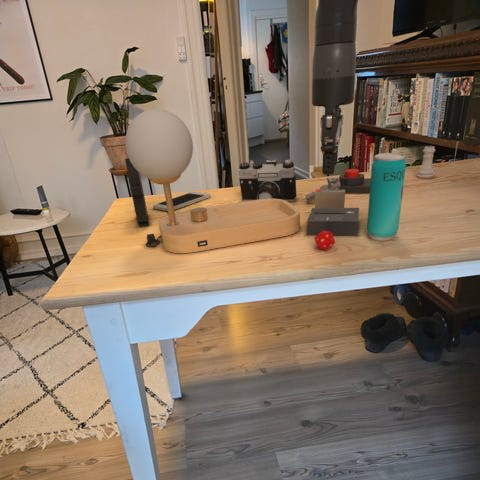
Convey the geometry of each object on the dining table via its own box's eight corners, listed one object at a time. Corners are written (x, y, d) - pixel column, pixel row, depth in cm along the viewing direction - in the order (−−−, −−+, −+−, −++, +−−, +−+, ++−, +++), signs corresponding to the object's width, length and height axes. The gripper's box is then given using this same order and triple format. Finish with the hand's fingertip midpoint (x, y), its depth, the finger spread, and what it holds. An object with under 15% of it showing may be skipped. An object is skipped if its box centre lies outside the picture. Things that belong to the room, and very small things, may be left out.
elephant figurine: (306, 197, 109) (339, 183, 106) (313, 217, 107) (346, 203, 105) (298, 180, 99) (334, 164, 97) (305, 201, 98) (342, 185, 95)
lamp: (280, 211, 99) (276, 93, 86) (308, 233, 85) (308, 95, 72) (143, 233, 94) (117, 110, 80) (148, 261, 79) (117, 116, 66)
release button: (358, 175, 111) (359, 168, 110) (358, 178, 108) (358, 171, 107) (345, 175, 112) (345, 169, 111) (344, 179, 109) (344, 172, 108)
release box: (377, 184, 114) (378, 171, 112) (378, 192, 106) (379, 179, 104) (339, 185, 116) (340, 172, 114) (337, 193, 109) (338, 180, 107)
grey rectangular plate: (344, 211, 86) (345, 188, 83) (343, 213, 84) (344, 190, 82) (315, 211, 87) (315, 188, 85) (314, 213, 86) (314, 190, 84)
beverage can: (402, 240, 77) (412, 156, 70) (372, 243, 77) (379, 160, 69) (390, 230, 82) (398, 151, 75) (362, 233, 82) (367, 154, 74)
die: (326, 237, 79) (318, 224, 76) (340, 240, 77) (333, 227, 74) (316, 252, 79) (308, 239, 76) (330, 256, 76) (323, 243, 73)
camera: (235, 212, 106) (229, 175, 99) (245, 193, 114) (240, 157, 107) (290, 213, 102) (288, 174, 95) (298, 193, 109) (296, 156, 103)
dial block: (358, 219, 90) (359, 204, 88) (357, 235, 81) (358, 220, 80) (307, 218, 93) (307, 205, 91) (301, 235, 84) (301, 220, 83)
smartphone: (210, 196, 116) (210, 193, 116) (169, 211, 107) (169, 208, 106) (193, 194, 121) (193, 191, 120) (152, 208, 111) (151, 205, 111)
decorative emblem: (149, 227, 97) (135, 161, 89) (139, 229, 97) (124, 162, 89) (148, 214, 107) (135, 153, 99) (138, 215, 107) (125, 154, 99)
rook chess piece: (436, 175, 116) (441, 145, 112) (429, 179, 114) (434, 148, 109) (420, 174, 119) (424, 145, 115) (414, 177, 116) (418, 147, 112)
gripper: (354, 74, 66) (347, 177, 75) (356, 72, 78) (350, 161, 86) (307, 78, 68) (306, 178, 77) (316, 75, 80) (314, 162, 88)
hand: (330, 169), depth 81 cm, fingers open, 8 cm apart
